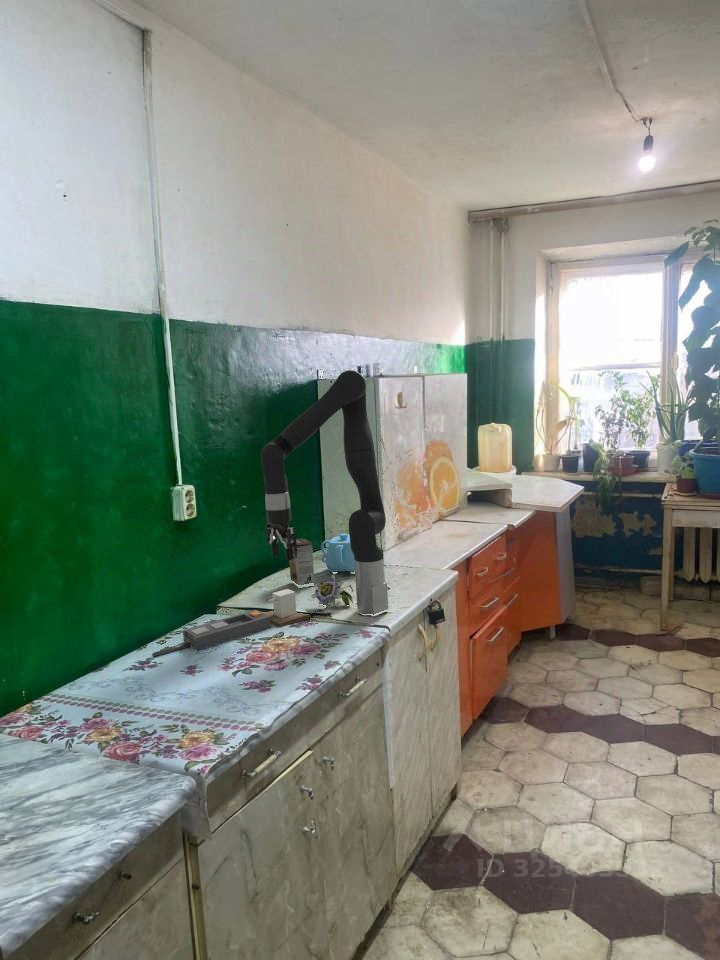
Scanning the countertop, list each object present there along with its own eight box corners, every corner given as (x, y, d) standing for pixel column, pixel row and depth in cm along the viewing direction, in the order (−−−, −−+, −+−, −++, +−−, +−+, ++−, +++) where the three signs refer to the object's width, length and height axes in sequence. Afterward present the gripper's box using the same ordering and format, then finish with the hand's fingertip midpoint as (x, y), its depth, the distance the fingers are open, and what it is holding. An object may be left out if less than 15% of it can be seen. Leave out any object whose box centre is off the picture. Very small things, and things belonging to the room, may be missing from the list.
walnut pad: (312, 616, 214) (312, 613, 214) (279, 627, 207) (278, 623, 207) (292, 607, 224) (292, 604, 224) (259, 617, 217) (259, 614, 217)
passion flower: (327, 624, 222) (303, 596, 221) (340, 607, 231) (318, 580, 231) (350, 609, 216) (326, 580, 216) (363, 592, 225) (340, 564, 225)
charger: (296, 613, 215) (294, 592, 214) (273, 620, 210) (271, 598, 209) (289, 610, 219) (287, 588, 218) (266, 616, 214) (264, 595, 213)
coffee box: (290, 582, 251) (286, 540, 249) (306, 579, 254) (303, 537, 251) (298, 589, 243) (295, 545, 240) (315, 586, 245) (312, 542, 243)
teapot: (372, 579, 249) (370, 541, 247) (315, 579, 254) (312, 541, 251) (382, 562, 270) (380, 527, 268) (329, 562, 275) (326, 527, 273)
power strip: (270, 627, 207) (269, 614, 207) (158, 662, 187) (156, 647, 186) (256, 620, 214) (255, 607, 214) (146, 652, 194) (145, 638, 193)
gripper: (300, 507, 208) (305, 558, 211) (276, 502, 219) (280, 551, 222) (279, 511, 204) (284, 564, 206) (256, 506, 215) (260, 556, 217)
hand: (282, 557), depth 214 cm, fingers open, 8 cm apart
